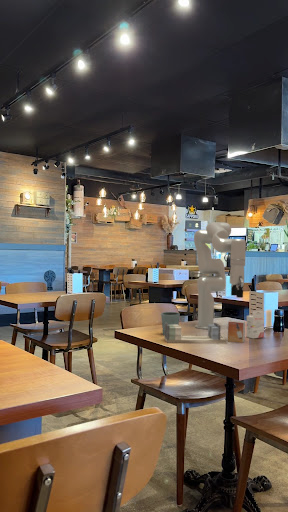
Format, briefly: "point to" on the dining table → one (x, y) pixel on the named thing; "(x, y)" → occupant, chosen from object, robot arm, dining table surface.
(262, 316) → the ink cartridge box
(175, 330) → the bookshelf
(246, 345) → the dining table surface
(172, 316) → the grey green cup
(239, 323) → the small box
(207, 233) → the robot arm
